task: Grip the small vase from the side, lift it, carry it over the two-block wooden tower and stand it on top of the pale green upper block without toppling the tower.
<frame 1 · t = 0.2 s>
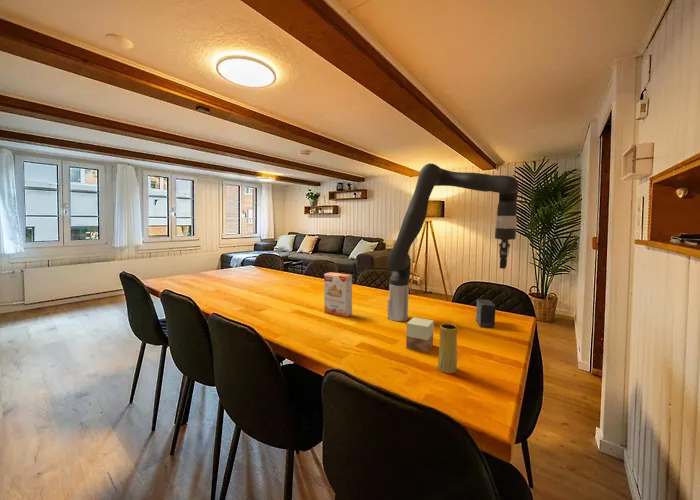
hand: (503, 267, 125), 29 cm above the table, tool pointing down, fingers open, 8 cm apart
tower base block: (419, 347, 117), on the table, touching tower top block
tower top block: (420, 334, 116), point 5 cm above the table, touching tower base block
vase: (447, 369, 99), on the table
small box: (485, 324, 142), on the table
cracker box: (338, 314, 158), on the table
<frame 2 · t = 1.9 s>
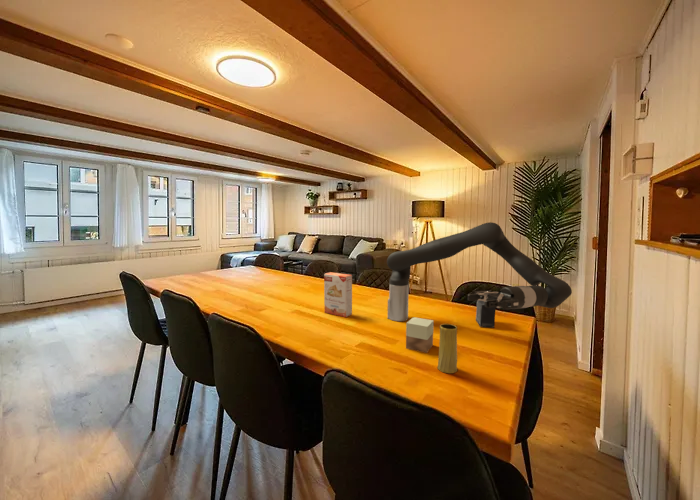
hand: (476, 300, 100), 22 cm above the table, tool horizontal, fingers open, 8 cm apart
nothing on the table moved.
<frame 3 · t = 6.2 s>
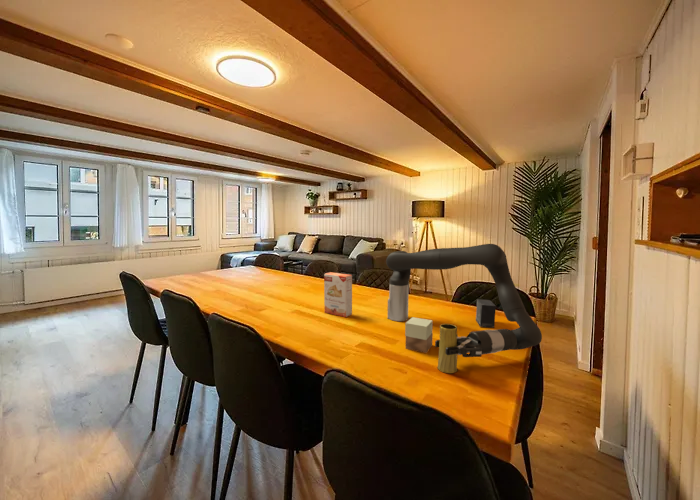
hand: (441, 347, 98), 8 cm above the table, tool horizontal, fingers closed on vase, 5 cm apart
vase: (447, 369, 99), on the table, touching gripper
everything else where it was.
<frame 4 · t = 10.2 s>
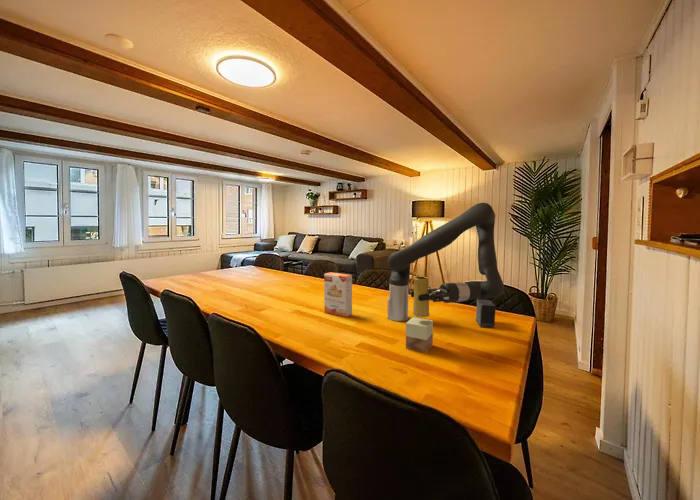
hand: (415, 296, 114), 20 cm above the table, tool horizontal, fingers closed on vase, 5 cm apart
vase: (421, 315, 116), point 12 cm above the table, touching gripper
everything else where it was.
when the fingers open (18 cm above the table, at t = 11.0 s): vase stays where it is, resting on tower top block.
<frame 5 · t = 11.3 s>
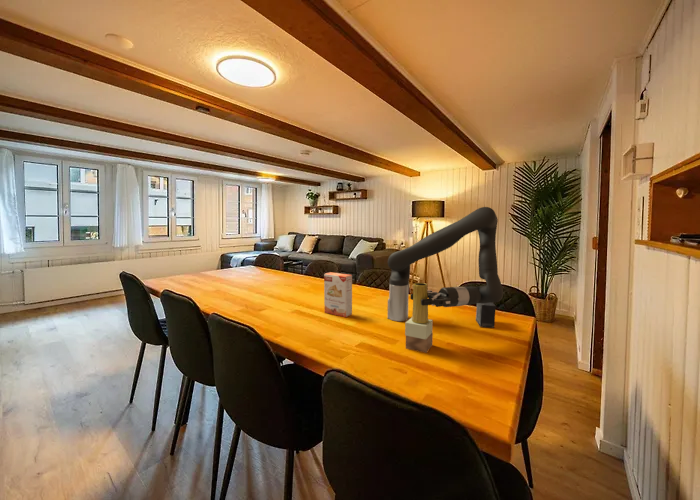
hand: (416, 299, 114), 19 cm above the table, tool horizontal, fingers open, 8 cm apart
tower top block: (418, 334, 117), point 5 cm above the table, touching tower base block, vase
vase: (420, 321, 116), point 10 cm above the table, touching tower top block
everything else where it was.
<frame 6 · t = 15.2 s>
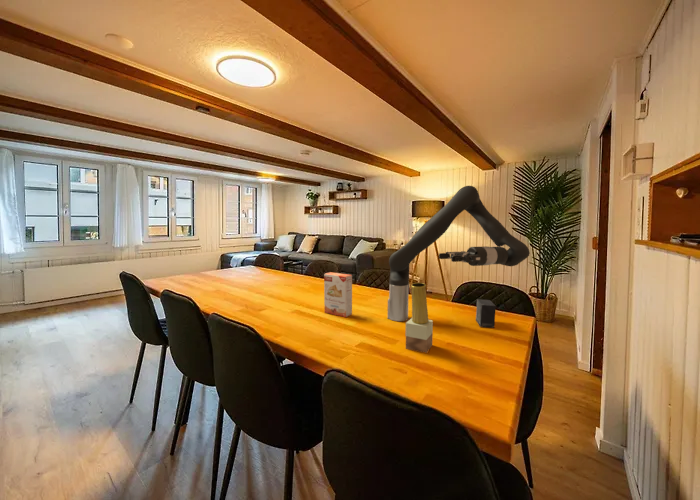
hand: (445, 257, 116), 34 cm above the table, tool horizontal, fingers open, 8 cm apart
at the end: vase inside the target area on the tower base block (0.3 cm from its centre), point 10.2 cm above the tower base block's base; vase tilted 8°; tower top block tilted 0° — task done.
